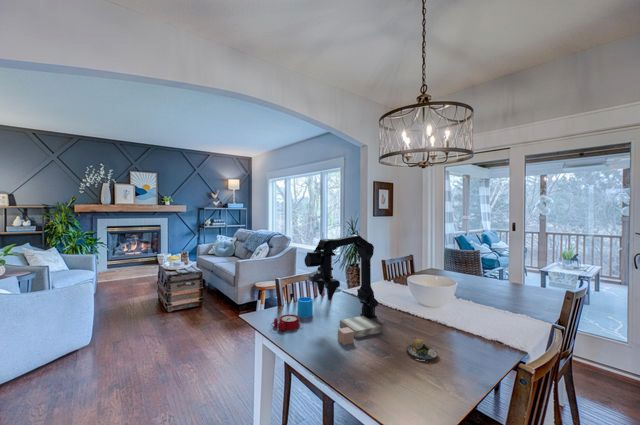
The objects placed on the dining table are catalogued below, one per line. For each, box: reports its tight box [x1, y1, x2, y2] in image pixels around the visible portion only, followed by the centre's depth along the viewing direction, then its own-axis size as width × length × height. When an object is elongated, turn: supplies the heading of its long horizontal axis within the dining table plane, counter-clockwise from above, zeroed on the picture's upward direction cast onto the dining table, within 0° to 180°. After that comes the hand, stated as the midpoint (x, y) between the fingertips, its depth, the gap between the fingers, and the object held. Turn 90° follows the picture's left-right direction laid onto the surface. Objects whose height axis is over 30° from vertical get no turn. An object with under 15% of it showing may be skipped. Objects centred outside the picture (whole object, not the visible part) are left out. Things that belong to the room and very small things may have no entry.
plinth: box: [339, 315, 382, 339], centre depth 139 cm, size 14×14×3 cm
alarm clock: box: [270, 314, 304, 332], centre depth 140 cm, size 10×6×15 cm
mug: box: [296, 296, 314, 318], centre depth 158 cm, size 12×8×8 cm
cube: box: [337, 327, 355, 346], centre depth 126 cm, size 5×5×5 cm
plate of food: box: [405, 336, 438, 361], centre depth 116 cm, size 12×12×8 cm
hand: (324, 297), depth 140 cm, fingers open, 9 cm apart
